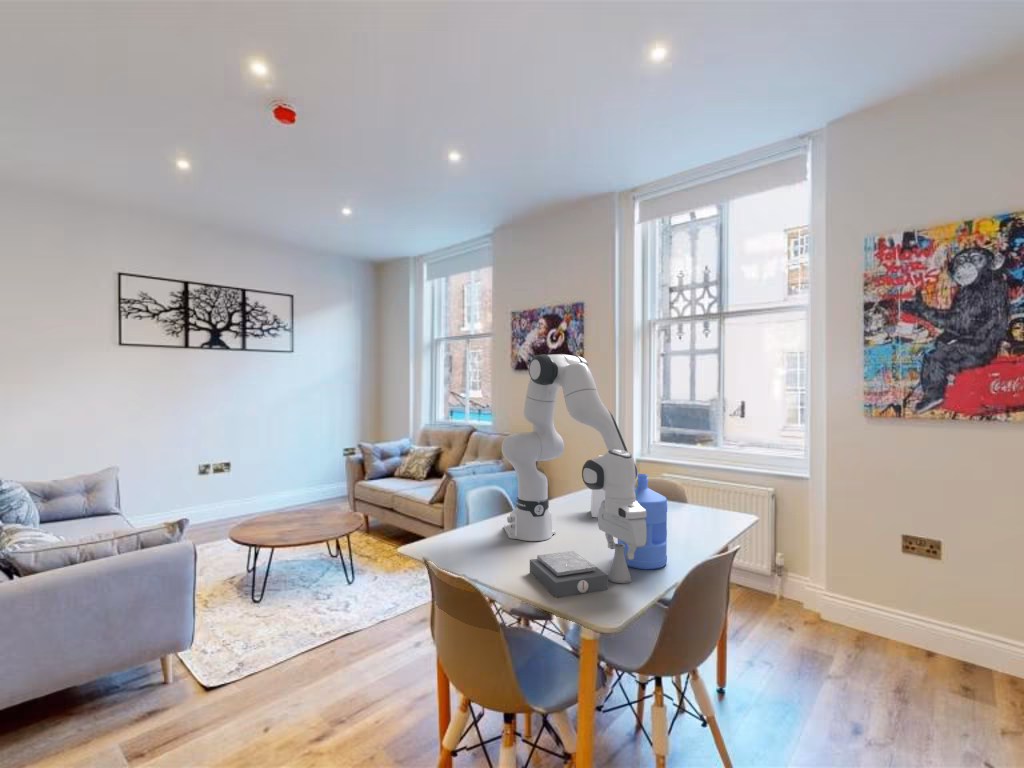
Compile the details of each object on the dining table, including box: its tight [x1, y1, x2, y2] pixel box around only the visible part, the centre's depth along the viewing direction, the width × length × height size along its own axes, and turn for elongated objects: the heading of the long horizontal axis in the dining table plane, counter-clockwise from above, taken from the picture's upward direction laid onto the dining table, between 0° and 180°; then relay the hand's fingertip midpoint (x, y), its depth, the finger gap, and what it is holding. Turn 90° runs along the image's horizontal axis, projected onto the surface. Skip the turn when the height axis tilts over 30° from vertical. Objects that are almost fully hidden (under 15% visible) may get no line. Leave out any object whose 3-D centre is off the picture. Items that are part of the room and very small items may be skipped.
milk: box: [590, 454, 605, 518], centre depth 213 cm, size 12×12×26 cm
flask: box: [607, 543, 632, 584], centre depth 142 cm, size 7×7×10 cm
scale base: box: [529, 554, 609, 598], centre depth 140 cm, size 19×16×4 cm
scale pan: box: [536, 550, 597, 576], centre depth 141 cm, size 14×12×1 cm
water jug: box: [617, 473, 668, 570], centre depth 156 cm, size 16×16×28 cm
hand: (620, 553), depth 141 cm, fingers open, 8 cm apart
